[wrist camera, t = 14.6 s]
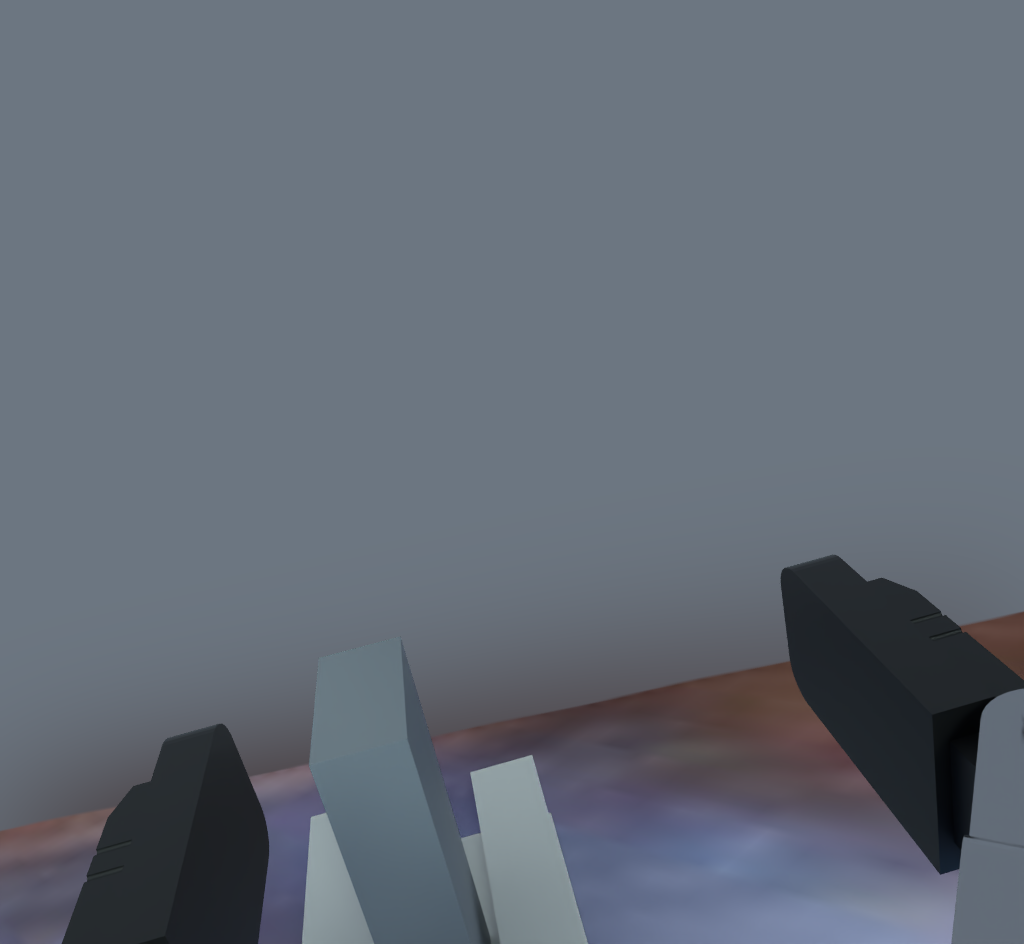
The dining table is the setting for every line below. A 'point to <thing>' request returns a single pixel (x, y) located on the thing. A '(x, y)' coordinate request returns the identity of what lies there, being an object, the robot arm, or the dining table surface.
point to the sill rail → (493, 864)
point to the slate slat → (390, 801)
